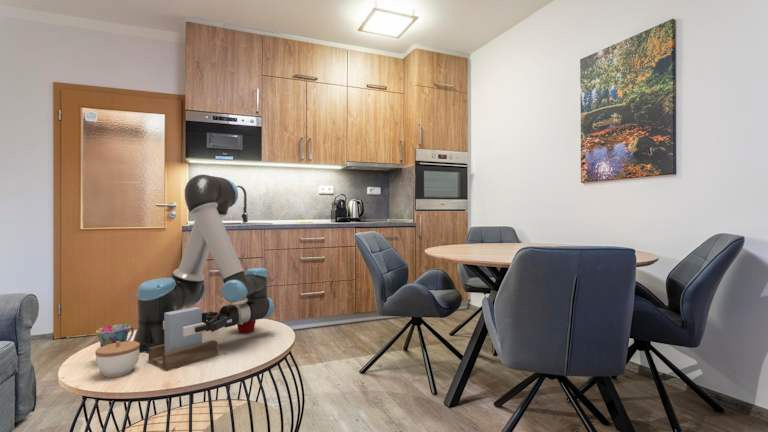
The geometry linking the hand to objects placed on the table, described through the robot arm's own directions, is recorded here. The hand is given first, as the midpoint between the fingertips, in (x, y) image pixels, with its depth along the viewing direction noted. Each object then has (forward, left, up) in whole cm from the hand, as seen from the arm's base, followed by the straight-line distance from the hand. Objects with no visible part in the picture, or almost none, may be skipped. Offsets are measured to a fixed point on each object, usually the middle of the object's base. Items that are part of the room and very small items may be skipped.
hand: (172, 328), depth 121 cm
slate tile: (0, +3, -9) cm, 10 cm away
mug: (-17, -10, -11) cm, 22 cm away
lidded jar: (-4, -14, -11) cm, 18 cm away
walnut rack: (0, +3, -10) cm, 11 cm away
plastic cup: (-10, +32, -11) cm, 35 cm away
